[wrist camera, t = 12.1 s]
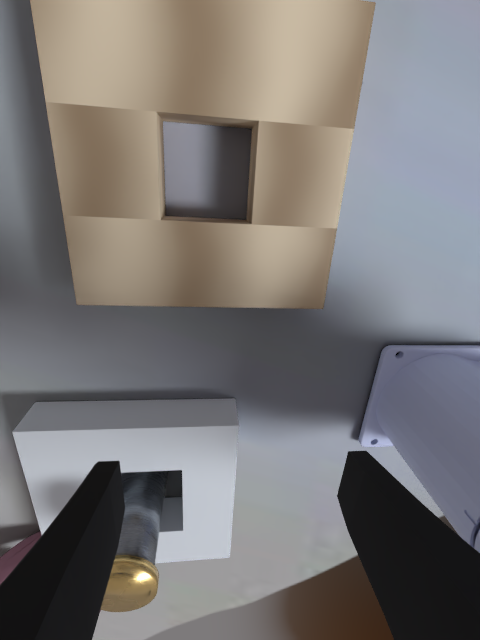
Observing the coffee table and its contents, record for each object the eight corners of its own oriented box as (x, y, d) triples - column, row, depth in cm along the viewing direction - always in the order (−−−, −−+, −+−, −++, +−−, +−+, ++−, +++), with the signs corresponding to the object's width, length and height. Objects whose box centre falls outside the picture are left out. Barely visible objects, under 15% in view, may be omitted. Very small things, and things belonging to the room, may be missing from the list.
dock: (235, 398, 20) (239, 425, 18) (227, 523, 25) (229, 557, 23) (35, 402, 19) (12, 431, 17) (66, 533, 24) (52, 571, 21)
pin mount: (351, 27, 13) (375, 2, 12) (311, 296, 18) (323, 308, 16) (50, -12, 12) (22, -47, 10) (90, 291, 17) (76, 304, 15)
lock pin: (171, 452, 21) (155, 566, 15) (172, 490, 23) (158, 608, 16) (116, 454, 21) (76, 571, 15) (121, 492, 22) (86, 614, 16)
